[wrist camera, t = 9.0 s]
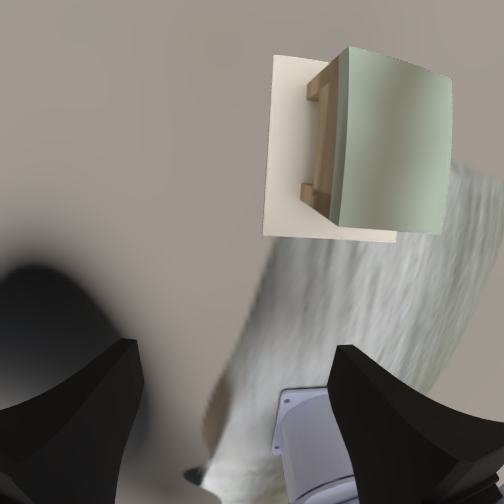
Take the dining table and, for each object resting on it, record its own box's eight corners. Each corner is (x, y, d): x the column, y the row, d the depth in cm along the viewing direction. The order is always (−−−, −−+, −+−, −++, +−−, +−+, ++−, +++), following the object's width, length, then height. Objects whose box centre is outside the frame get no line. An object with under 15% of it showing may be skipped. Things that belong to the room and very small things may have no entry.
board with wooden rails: (383, 98, 16) (451, 79, 9) (375, 206, 18) (440, 235, 11) (306, 84, 15) (348, 45, 9) (299, 199, 17) (338, 226, 11)
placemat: (392, 241, 19) (395, 242, 19) (261, 234, 18) (262, 235, 18) (405, 83, 16) (408, 82, 15) (273, 56, 15) (273, 54, 15)
